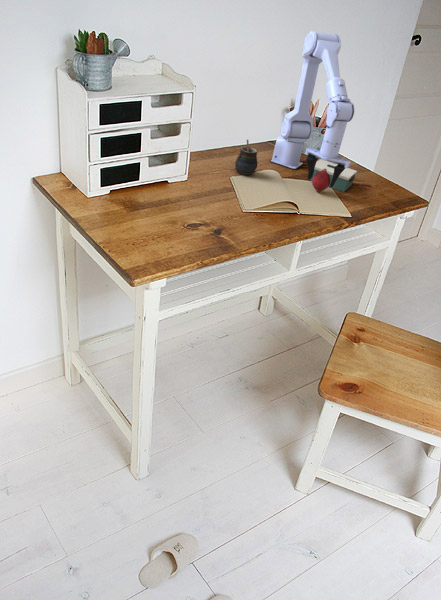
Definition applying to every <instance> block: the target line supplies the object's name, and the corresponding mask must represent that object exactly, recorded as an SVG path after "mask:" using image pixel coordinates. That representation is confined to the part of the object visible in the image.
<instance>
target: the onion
mask: <svg viewBox="0 0 441 600" xmlns="http://www.w3.org/2000/svg"><path fill="white" fill-rule="evenodd" d="M326 171H327V169H326V168H324V169H323V170H322V171H319V172H317V173H316V174H315V175H314V177H313V179H312V181H311V185H312V187H313V188H314V190H315V191H316V192H318V193H321V192H323V191H325V190H327V189H328V188H330V187H329V185H330V181H331V179H330V176H329V174H328V173H327V172H326Z"/></svg>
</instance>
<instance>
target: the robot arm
mask: <svg viewBox="0 0 441 600" xmlns="http://www.w3.org/2000/svg"><path fill="white" fill-rule="evenodd" d="M341 43H342V42H341V38H340V35H339V34H336V33H333V34H332V33H325V32H319V31H318V32H317V31H314V30H311V31H310V32H308V34H307V35H306V36H305V38H304V42H303V48H302V53H301V56H302V58H303V63H302V67H301V73H300V78H299V82H298V87H297V92H296V99H295V103H294V108H293V110H291V111H289V112H288V113H286V114H285V115H284V117H283V121H282V123H281V127H280V134H281V135H279V136H278V137H277V139H276V141H275V145H274V149H273V154H272V157H271V160H270V162H272V163H275V164H277V165H280V166H283V167H287V168H289V169H293V170H296V169H298V168H299V167H301V166H302V165H303V162H301V157H302V154H303V151H304V145H305V143H307V141H308V140H310V138H311V137H312V134H313V132H314V118H313V116H312V115H311V114H310V109H311V104H312V100H313V95H314V90H315V86H316V81H317V76H318V72H319V67H320V64H322V63H323V67H324V70H325V73H326V78H327V81H328V82H327V83H326V84H325V90H326V95H327V96H326V97H327V100H328V107H327V108H326V121H325V124H326V127H325V131H324V135H323V139H322V142H321V146H320V149H317V148H312V147H306V149H305V152H304V155H305V156H307V157H305V162H306V164H307V180H308V179H309V180H308V181H311V180H310V179H311V178H312V176H313V173H314V168H315V165H316V162H317V161H318V160H320V159H322V160H325V161H328V162H331V163H334V164H337V166H335V168H334V173H333V178H332V181H331V184H330V187H329V188H331V187H333V186H334V184H335V182H336V180H337V178H338V177H339V175H340V174H341V173H342V172H343V170H344V169H345V168H349V169H350V166H351V164H352V163H351V160H348V159H346V158H345V157H342V156H339V153H340V149H341V146H342V142H343V139H344V135H345V132H346V128H347V125H348V123H350V122H351V121H352V120H353V118H354V115H355V104H354V102H352V100H351V99H350V98H349V96H348V92H347V91H348V90H347V87H346V86H347V85H346V82H345V80H344V79H343V78H341V73H340V64H339V53H340V52H341V47H342V44H341Z"/></svg>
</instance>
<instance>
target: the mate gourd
mask: <svg viewBox="0 0 441 600" xmlns="http://www.w3.org/2000/svg"><path fill="white" fill-rule="evenodd" d="M249 144H250V143H249V139H246V146H242V147H240V150H239V154H238V156H237V157H236V159H235V163H234V165H235V170H236V172H237V173H238V174H240V175H243V176H251V175H252V174H254V173H255V172H256V170H257V168H258V150H257V149H256V148H253V147H251V146H250V145H249Z"/></svg>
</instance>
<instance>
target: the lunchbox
mask: <svg viewBox="0 0 441 600" xmlns="http://www.w3.org/2000/svg"><path fill="white" fill-rule="evenodd" d="M335 166H337V164H334V163H331V162H328V161H325V160H322V159H318V160H317V162H316V165H315V168H314V173H313V176H312V178H311V179H310V180H309V179H308V178H307V180H308V181H311V182H312V179H313V177H314V175H315V174H316V173H317V172H319V171H322V170H323V169H324V168H326V169H327V171H326V172H327V173H328V174H329V176H330V179H331V181H332V178H333V173H334V168H335ZM357 173H358V170H355V169H353V168H350V167H349V168H345V169H344V170H343V172H342V173H341V174H340V175H339V177H338V178H337V180H336V182H335V184H334V186H333V187H330V185H329V187H328V188H331V189H333V190H337V191H339V192H342V193H344V192H345V191H347V190H348V189H349V188H351V186H353V184H354V183H353V182H354V180H355V178H356V175H357ZM331 181H330V184H331Z"/></svg>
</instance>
